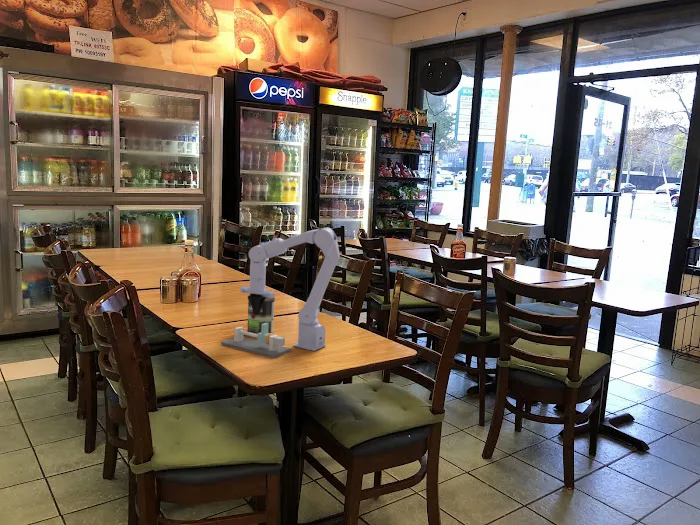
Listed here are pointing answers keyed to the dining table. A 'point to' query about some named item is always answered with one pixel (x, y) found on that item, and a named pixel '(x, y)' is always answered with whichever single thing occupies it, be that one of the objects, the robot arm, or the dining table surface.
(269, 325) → the coffee can
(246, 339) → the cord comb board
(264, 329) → the sleeve
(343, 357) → the dining table surface
